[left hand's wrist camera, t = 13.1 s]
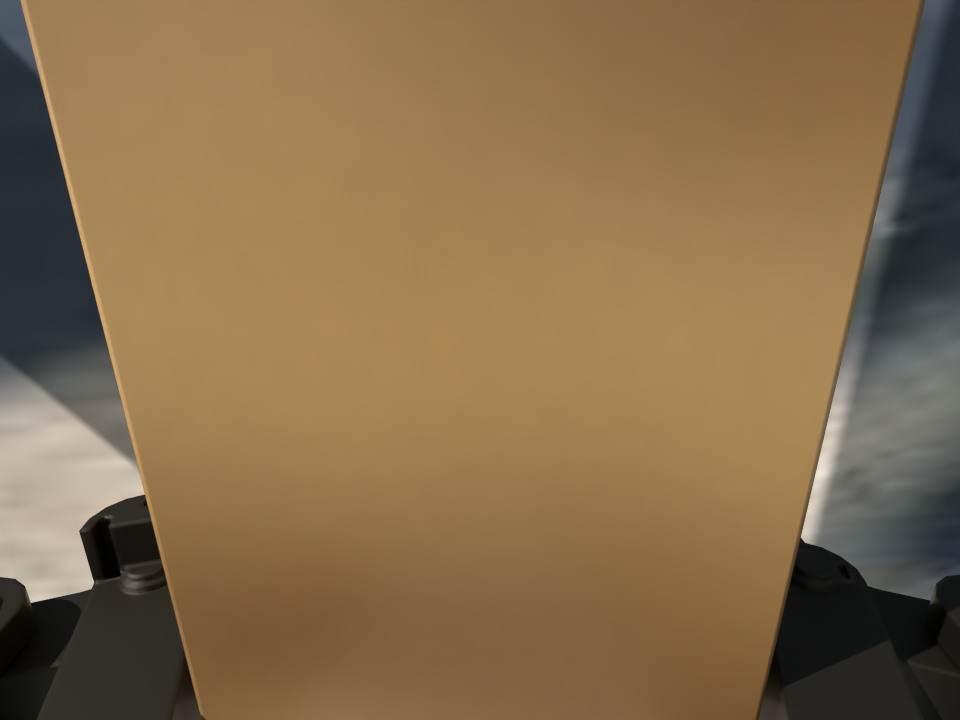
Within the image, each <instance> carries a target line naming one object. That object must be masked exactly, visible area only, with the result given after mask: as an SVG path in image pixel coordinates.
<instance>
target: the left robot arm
mask: <svg viewBox="0 0 960 720" xmlns="http://www.w3.org/2000/svg"><path fill="white" fill-rule="evenodd" d="M79 532H80V535H81V539H82V542H83V545H84V549H85V552H86V556H87V559H88V563H89V566H90V569H91V573H92V576H93V580H94V585H93V587H92V589H91V590H87V591H83V592H80V593H76V594H71V595H66V596H62V597H57V598H52V599H48V600H43V601H38V602H34V603H31V602H30V600H29V597H28V594H27V591H26V588H25V586H24V585H23V584H21V583H20V582H19V581H17V580H16V579H11V578H3V577H0V720H202V719H201V715H200V711H199V707H198V703H197V699H196V695H195V691H194V687H193V683H192V679H191V675H190V671H189V667H188V663H187V659H186V655H185V651H184V647H183V643H182V639H181V635H180V631H179V627H178V623H177V619H176V615H175V611H174V607H173V603H172V599H171V596H170V592H169V588H168V584H167V580H166V576H165V572H164V568H163V564H162V560H161V556H160V552H159V548H158V544H157V540H156V536H155V532H154V528H153V524H152V520H151V516H150V512H149V508H148V504H147V500H146V496H145V495H141V496H137V497H133V498H129V499H125V500H123V501H121V502H118V503H116V504H113V505H111V506H109V507H106V508H105V509H103V510H102V511H100V512H99V513H97V514H96V515H94V516H93V517H91V518H90V519H89V520H88V521H87V522H86V524H85V525H84V526H83V527H82V528H81V529H80V531H79ZM758 720H960V575H954V576H946V577H945V578H943V579H942V580H941V581H939V582H938V583H937V584H936V586H935V589H934V592H933V595H932V598H931V601H929V600H925V599H920V598H915V597H911V596H906V595H901V594H897V593H892V592H887V591H883V590H879V589H875V588H872V587H868V586H867V584H866V582H865V580H864V579H863V577H862V576H861V575H860V573H859V572H858V570H857V569H856V568H855V567H854V566H852V565H851V564H850V563H848V562H847V561H846V560H844V559H843V558H842V557H840V556H838V555H836V554H834V553H832V552H830V551H828V550H826V549H824V548H822V547H818V546H814V545H811V544H807V543H805V542H804V541H803V540H802V538H800V542H799V547H798V551H797V555H796V560H795V564H794V568H793V573H792V577H791V581H790V586H789V590H788V594H787V598H786V603H785V607H784V611H783V616H782V620H781V624H780V629H779V633H778V637H777V642H776V646H775V650H774V655H773V659H772V663H771V668H770V672H769V676H768V680H767V685H766V689H765V693H764V698H763V702H762V706H761V711H760V715H759V719H758Z"/></svg>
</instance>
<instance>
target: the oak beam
mask: <svg viewBox="0 0 960 720" xmlns="http://www.w3.org/2000/svg"><path fill="white" fill-rule="evenodd" d="M924 3H925V0H21V4H22V8H23V12H24V16H25V20H26V24H27V28H28V32H29V36H30V39H31V43H32V47H33V51H34V55H35V59H36V63H37V67H38V71H39V75H40V79H41V83H42V87H43V91H44V95H45V99H46V103H47V107H48V111H49V115H50V119H51V123H52V127H53V131H54V135H55V139H56V143H57V147H58V151H59V155H60V159H61V163H62V167H63V171H64V175H65V178H66V182H67V186H68V190H69V194H70V198H71V202H72V206H73V210H74V214H75V218H76V222H77V226H78V230H79V234H80V238H81V242H82V246H83V250H84V254H85V258H86V262H87V266H88V270H89V274H90V278H91V282H92V286H93V290H94V294H95V298H96V302H97V306H98V310H99V314H100V318H101V321H102V325H103V329H104V333H105V337H106V341H107V345H108V349H109V353H110V357H111V361H112V365H113V369H114V373H115V377H116V381H117V385H118V389H119V393H120V397H121V401H122V405H123V409H124V413H125V417H126V421H127V425H128V429H129V433H130V437H131V441H132V445H133V449H134V453H135V457H136V460H137V464H138V468H139V472H140V476H141V480H142V484H143V488H144V492H145V496H146V500H147V504H148V508H149V512H150V516H151V520H152V524H153V528H154V532H155V536H156V540H157V544H158V548H159V552H160V556H161V560H162V564H163V568H164V572H165V576H166V580H167V584H168V588H169V592H170V596H171V599H172V603H173V607H174V611H175V615H176V619H177V623H178V627H179V631H180V635H181V639H182V643H183V647H184V651H185V655H186V659H187V663H188V667H189V671H190V675H191V679H192V683H193V687H194V691H195V695H196V699H197V703H198V707H199V711H200V715H201V719H202V720H758V719H759V715H760V711H761V706H762V702H763V698H764V693H765V689H766V685H767V680H768V676H769V672H770V668H771V663H772V659H773V655H774V650H775V646H776V642H777V637H778V633H779V629H780V624H781V620H782V616H783V611H784V607H785V603H786V598H787V594H788V590H789V586H790V581H791V577H792V573H793V568H794V564H795V560H796V555H797V551H798V547H799V542H800V538H801V534H802V529H803V525H804V521H805V516H806V512H807V508H808V503H809V499H810V495H811V491H812V486H813V482H814V478H815V473H816V469H817V465H818V460H819V456H820V452H821V447H822V443H823V439H824V434H825V430H826V426H827V421H828V417H829V413H830V409H831V404H832V400H833V396H834V391H835V387H836V383H837V378H838V374H839V370H840V365H841V361H842V357H843V352H844V348H845V344H846V339H847V335H848V331H849V327H850V322H851V318H852V314H853V309H854V305H855V301H856V296H857V292H858V288H859V283H860V279H861V275H862V270H863V266H864V262H865V257H866V253H867V249H868V244H869V240H870V236H871V232H872V227H873V223H874V219H875V214H876V210H877V206H878V201H879V197H880V193H881V188H882V184H883V180H884V175H885V171H886V167H887V162H888V158H889V154H890V150H891V145H892V141H893V137H894V132H895V128H896V124H897V119H898V115H899V111H900V106H901V102H902V98H903V93H904V89H905V85H906V80H907V76H908V72H909V67H910V63H911V59H912V55H913V50H914V46H915V42H916V37H917V33H918V29H919V24H920V20H921V16H922V11H923V7H924Z"/></svg>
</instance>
